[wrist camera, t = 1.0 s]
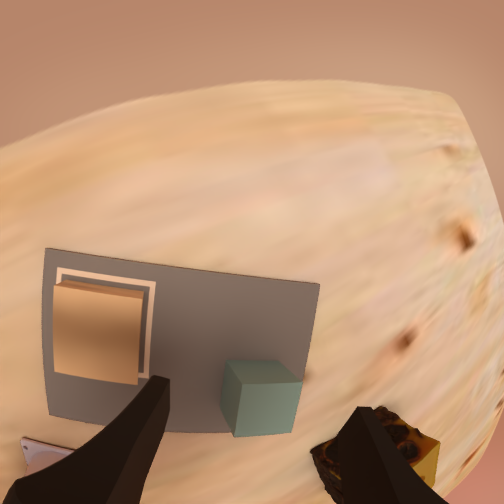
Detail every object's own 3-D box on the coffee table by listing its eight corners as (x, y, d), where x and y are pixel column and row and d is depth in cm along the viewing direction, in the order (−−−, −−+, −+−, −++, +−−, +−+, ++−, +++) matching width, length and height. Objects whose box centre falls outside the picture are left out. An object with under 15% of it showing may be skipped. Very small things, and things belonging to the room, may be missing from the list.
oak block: (138, 367, 21) (137, 384, 18) (64, 356, 19) (54, 371, 16) (143, 291, 21) (142, 299, 18) (66, 279, 19) (53, 285, 16)
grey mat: (289, 424, 25) (292, 428, 25) (51, 411, 19) (49, 415, 18) (316, 283, 26) (320, 284, 25) (48, 248, 19) (45, 248, 18)
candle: (308, 449, 27) (360, 504, 17) (381, 402, 29) (442, 438, 20) (324, 492, 28) (366, 538, 18) (387, 451, 31) (435, 486, 21)
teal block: (269, 406, 24) (291, 432, 20) (219, 407, 23) (234, 437, 18) (278, 360, 24) (302, 382, 20) (226, 359, 23) (242, 384, 18)
